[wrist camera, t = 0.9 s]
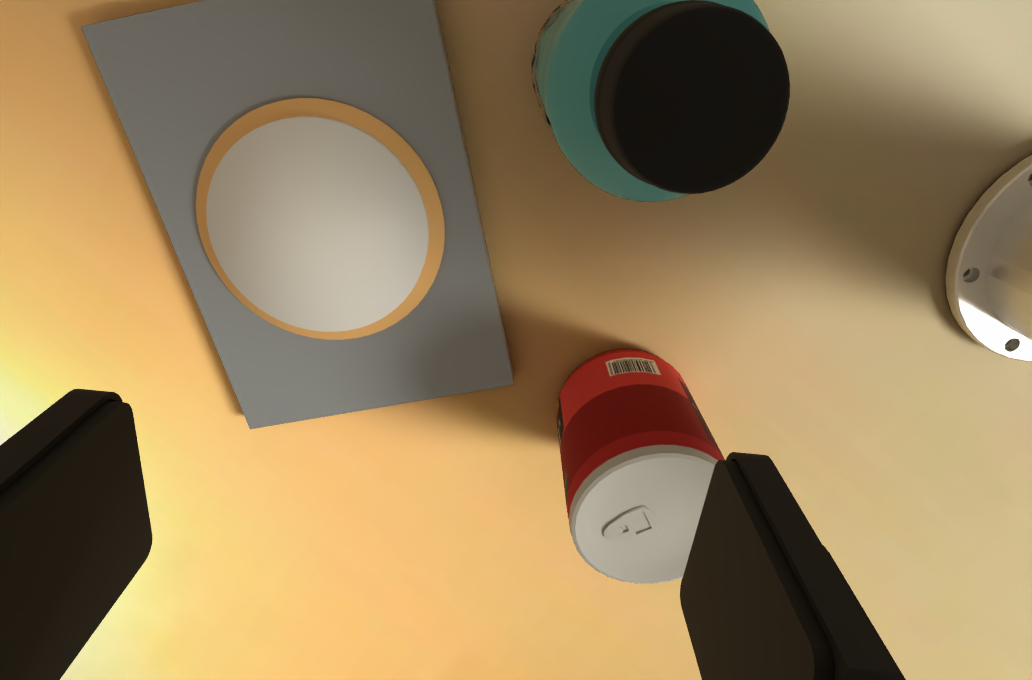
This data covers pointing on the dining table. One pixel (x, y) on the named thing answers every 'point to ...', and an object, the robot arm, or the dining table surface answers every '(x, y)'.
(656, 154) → the beverage bottle
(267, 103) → the board
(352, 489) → the dining table surface
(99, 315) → the dining table surface
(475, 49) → the dining table surface
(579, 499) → the canned food
